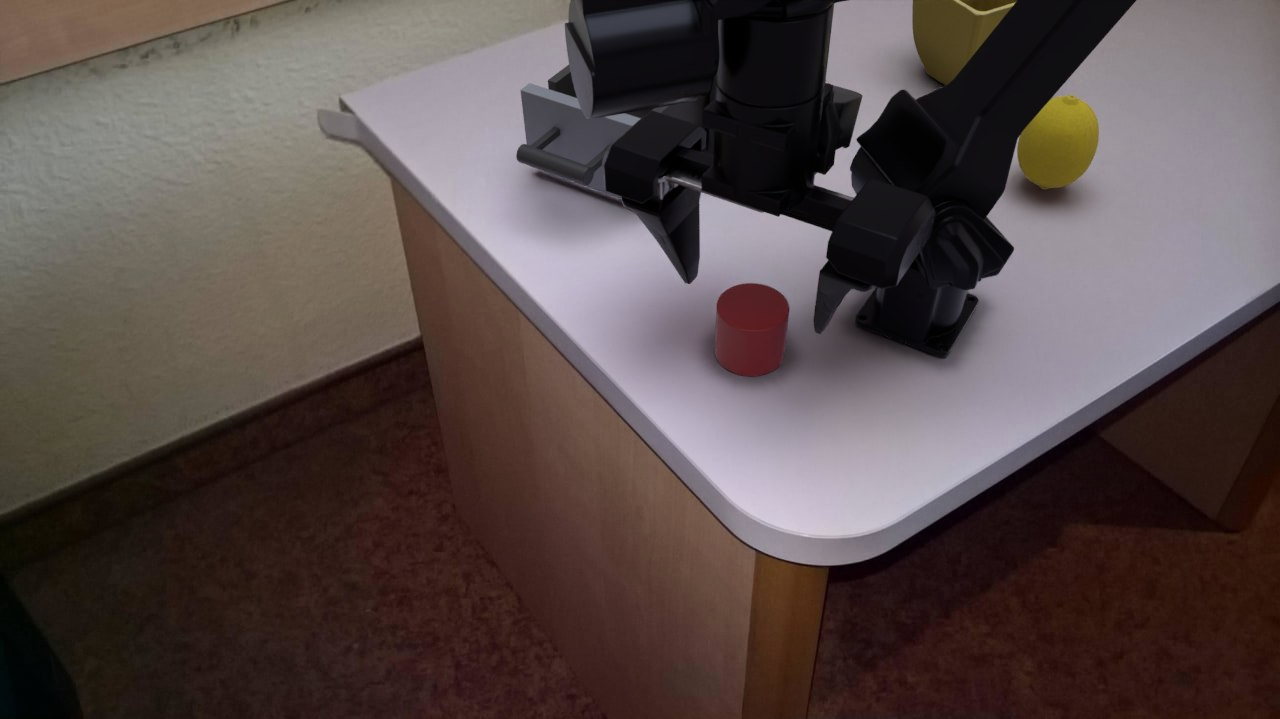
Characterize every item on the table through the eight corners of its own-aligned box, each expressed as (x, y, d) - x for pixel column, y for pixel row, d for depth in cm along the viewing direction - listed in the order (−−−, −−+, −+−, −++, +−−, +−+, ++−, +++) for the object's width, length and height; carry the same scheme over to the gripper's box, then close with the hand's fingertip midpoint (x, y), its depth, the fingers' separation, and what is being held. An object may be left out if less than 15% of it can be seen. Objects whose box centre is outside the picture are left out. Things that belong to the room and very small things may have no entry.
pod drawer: (617, 241, 75) (613, 161, 70) (494, 194, 79) (482, 117, 75) (741, 120, 86) (745, 45, 81) (627, 86, 91) (624, 12, 86)
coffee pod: (764, 386, 65) (768, 340, 62) (701, 360, 67) (703, 314, 64) (796, 343, 68) (801, 298, 65) (735, 319, 70) (738, 274, 67)
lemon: (995, 193, 80) (1020, 101, 74) (1023, 160, 83) (1049, 69, 77) (1065, 217, 77) (1096, 124, 72) (1091, 183, 80) (1123, 91, 75)
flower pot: (894, 70, 93) (910, -27, 87) (970, 47, 96) (991, -49, 90) (958, 114, 88) (980, 15, 81) (1036, 88, 90) (1063, -10, 84)
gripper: (995, 58, 55) (942, 281, 66) (693, -17, 62) (690, 195, 73) (918, 159, 48) (873, 389, 59) (590, 61, 56) (603, 282, 67)
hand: (754, 303), depth 65 cm, fingers open, 9 cm apart
